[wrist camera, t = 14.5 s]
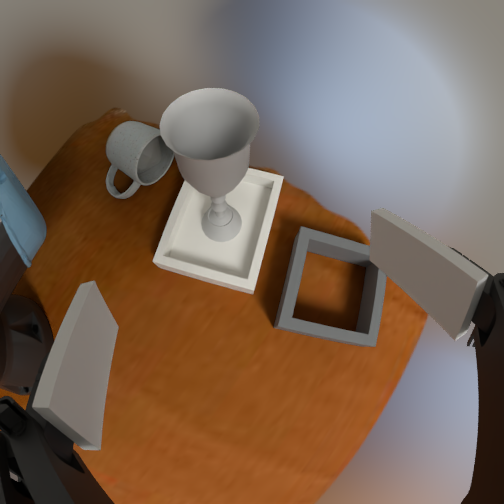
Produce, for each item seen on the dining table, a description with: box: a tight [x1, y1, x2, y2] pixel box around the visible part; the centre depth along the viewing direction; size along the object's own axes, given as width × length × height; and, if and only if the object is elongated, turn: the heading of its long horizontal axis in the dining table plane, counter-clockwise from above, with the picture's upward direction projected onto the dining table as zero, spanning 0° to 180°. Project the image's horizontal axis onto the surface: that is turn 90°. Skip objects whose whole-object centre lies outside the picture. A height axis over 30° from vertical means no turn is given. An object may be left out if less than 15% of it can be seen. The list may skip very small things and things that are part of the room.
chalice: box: [160, 88, 259, 242], centre depth 25 cm, size 7×7×18 cm
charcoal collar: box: [273, 226, 387, 347], centre depth 31 cm, size 11×11×4 cm
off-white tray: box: [153, 168, 284, 294], centre depth 34 cm, size 12×15×3 cm
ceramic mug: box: [106, 121, 174, 199], centre depth 33 cm, size 11×8×8 cm
